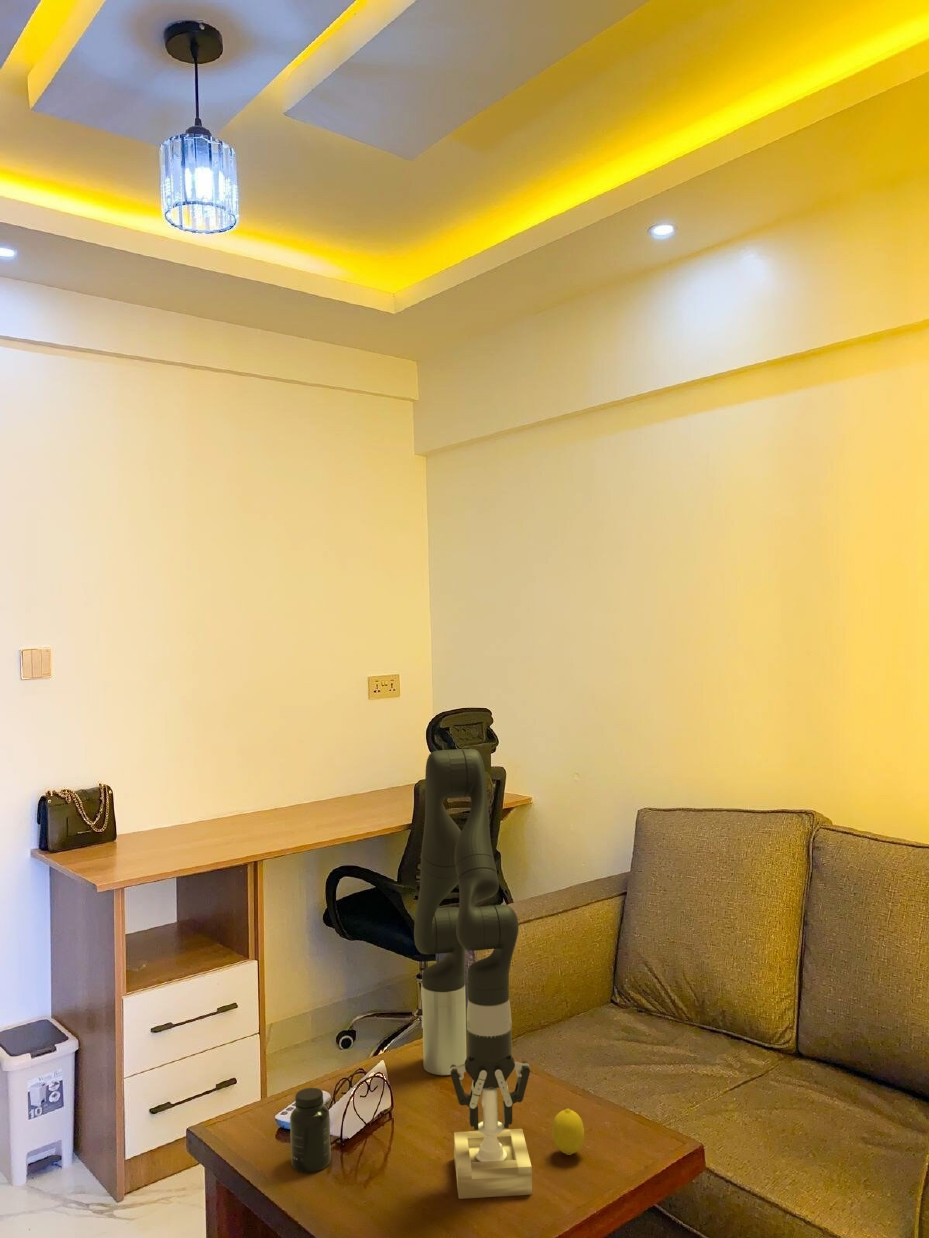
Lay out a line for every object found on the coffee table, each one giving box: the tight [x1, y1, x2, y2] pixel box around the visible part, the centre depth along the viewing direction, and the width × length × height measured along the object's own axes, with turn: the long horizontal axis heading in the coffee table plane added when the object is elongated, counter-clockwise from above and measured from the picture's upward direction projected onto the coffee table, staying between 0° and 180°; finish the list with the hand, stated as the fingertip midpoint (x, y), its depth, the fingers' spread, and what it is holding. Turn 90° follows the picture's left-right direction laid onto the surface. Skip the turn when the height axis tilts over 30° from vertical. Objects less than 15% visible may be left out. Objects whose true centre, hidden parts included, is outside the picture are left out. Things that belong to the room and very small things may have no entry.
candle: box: [475, 1087, 507, 1162], centre depth 159 cm, size 5×5×12 cm
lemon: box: [551, 1108, 585, 1156], centre depth 165 cm, size 6×6×8 cm
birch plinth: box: [453, 1128, 533, 1200], centre depth 159 cm, size 12×12×4 cm
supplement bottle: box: [289, 1087, 332, 1174], centre depth 164 cm, size 7×7×12 cm
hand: (490, 1126), depth 160 cm, fingers closed on candle, 4 cm apart
